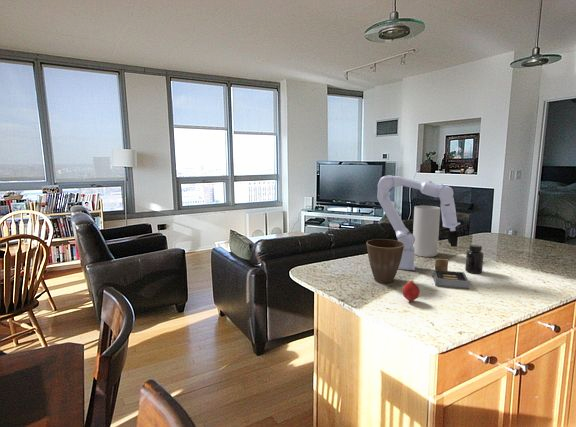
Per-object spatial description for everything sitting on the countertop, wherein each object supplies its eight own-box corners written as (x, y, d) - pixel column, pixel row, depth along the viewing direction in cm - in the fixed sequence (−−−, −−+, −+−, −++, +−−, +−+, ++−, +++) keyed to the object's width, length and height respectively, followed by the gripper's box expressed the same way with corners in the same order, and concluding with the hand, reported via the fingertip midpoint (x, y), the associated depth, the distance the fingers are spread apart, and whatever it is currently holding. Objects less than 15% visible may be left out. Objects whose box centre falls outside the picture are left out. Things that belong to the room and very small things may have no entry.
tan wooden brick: (435, 272, 158) (435, 259, 157) (434, 271, 159) (435, 258, 158) (447, 273, 157) (448, 260, 156) (446, 272, 158) (447, 259, 157)
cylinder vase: (439, 253, 190) (442, 206, 186) (434, 258, 179) (437, 209, 175) (415, 249, 196) (417, 205, 192) (409, 255, 186) (411, 207, 182)
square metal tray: (435, 286, 141) (435, 278, 141) (432, 276, 153) (433, 269, 152) (468, 289, 138) (469, 281, 137) (463, 279, 149) (463, 272, 149)
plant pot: (401, 288, 139) (403, 248, 136) (362, 284, 144) (364, 245, 141) (403, 276, 152) (404, 240, 150) (368, 273, 158) (369, 237, 155)
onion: (399, 298, 129) (400, 277, 128) (414, 298, 129) (415, 277, 128) (405, 305, 123) (406, 283, 122) (421, 304, 124) (423, 282, 122)
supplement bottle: (484, 274, 155) (486, 247, 153) (467, 273, 156) (469, 247, 154) (479, 269, 161) (481, 244, 159) (463, 268, 163) (465, 243, 161)
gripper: (461, 214, 146) (465, 247, 147) (456, 210, 159) (460, 240, 160) (443, 217, 148) (447, 248, 149) (439, 212, 162) (443, 241, 163)
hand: (452, 244), depth 155 cm, fingers open, 7 cm apart
